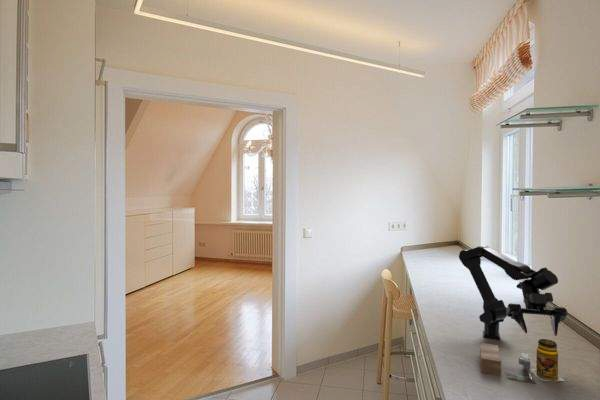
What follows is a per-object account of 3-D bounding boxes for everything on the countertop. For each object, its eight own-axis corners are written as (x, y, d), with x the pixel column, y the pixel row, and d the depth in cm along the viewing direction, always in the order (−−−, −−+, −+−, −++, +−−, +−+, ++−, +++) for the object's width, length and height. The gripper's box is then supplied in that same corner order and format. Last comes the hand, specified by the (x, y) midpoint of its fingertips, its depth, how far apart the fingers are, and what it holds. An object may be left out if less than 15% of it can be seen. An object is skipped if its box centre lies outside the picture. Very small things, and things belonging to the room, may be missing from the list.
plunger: (517, 364, 133) (517, 352, 133) (527, 365, 132) (527, 353, 132) (521, 378, 123) (521, 365, 123) (532, 380, 122) (532, 367, 122)
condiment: (542, 381, 123) (543, 345, 122) (527, 369, 131) (528, 335, 131) (565, 381, 123) (565, 345, 122) (548, 369, 131) (548, 335, 131)
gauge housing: (480, 355, 142) (480, 342, 141) (529, 363, 135) (529, 350, 135) (481, 373, 128) (481, 359, 128) (535, 383, 121) (536, 368, 121)
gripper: (508, 282, 139) (516, 321, 129) (566, 285, 134) (579, 326, 124) (503, 297, 147) (510, 335, 137) (557, 300, 142) (568, 340, 132)
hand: (541, 334), depth 132 cm, fingers open, 9 cm apart
